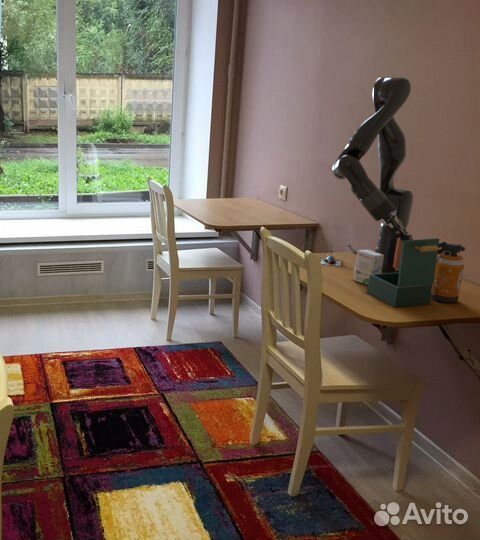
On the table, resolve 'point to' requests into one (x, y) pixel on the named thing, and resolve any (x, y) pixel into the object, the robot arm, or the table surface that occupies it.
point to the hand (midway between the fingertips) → (410, 242)
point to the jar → (399, 251)
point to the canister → (448, 273)
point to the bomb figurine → (330, 261)
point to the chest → (397, 290)
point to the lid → (418, 262)
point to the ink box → (367, 265)
